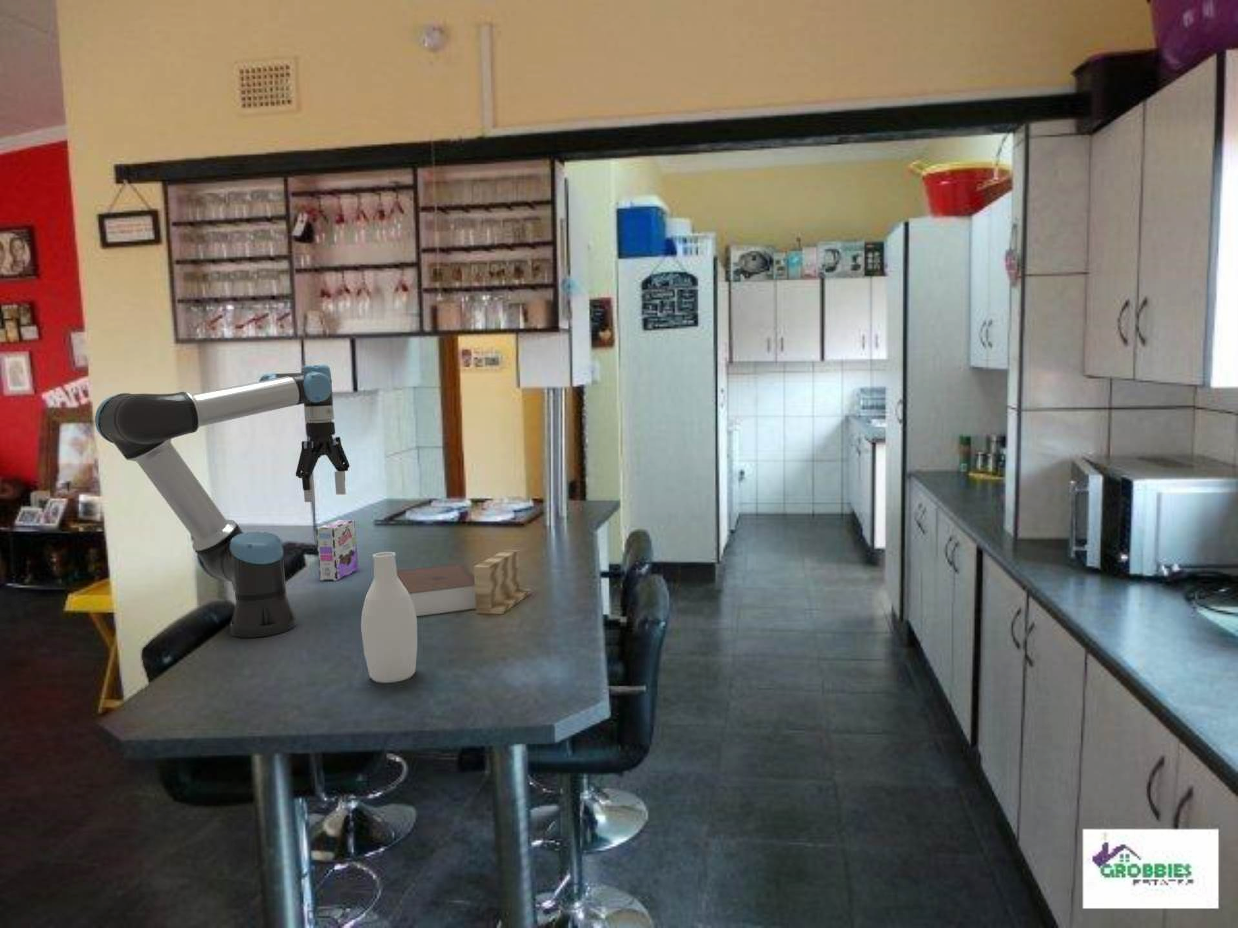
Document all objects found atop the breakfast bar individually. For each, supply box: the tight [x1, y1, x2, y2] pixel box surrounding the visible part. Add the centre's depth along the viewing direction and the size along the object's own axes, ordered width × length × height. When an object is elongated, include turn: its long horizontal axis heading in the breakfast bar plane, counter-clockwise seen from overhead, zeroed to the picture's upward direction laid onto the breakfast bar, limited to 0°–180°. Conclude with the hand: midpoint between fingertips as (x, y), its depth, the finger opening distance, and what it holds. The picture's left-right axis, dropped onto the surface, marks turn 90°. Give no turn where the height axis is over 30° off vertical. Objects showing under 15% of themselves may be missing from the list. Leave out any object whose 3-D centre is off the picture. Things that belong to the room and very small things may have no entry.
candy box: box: [315, 519, 359, 582], centre depth 274 cm, size 14×6×16 cm, turn 168°
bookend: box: [473, 549, 532, 615], centre depth 235 cm, size 20×7×12 cm, turn 164°
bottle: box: [360, 551, 418, 684], centre depth 182 cm, size 11×11×25 cm
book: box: [397, 562, 476, 617], centre depth 241 cm, size 24×28×7 cm
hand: (325, 498), depth 247 cm, fingers open, 13 cm apart
